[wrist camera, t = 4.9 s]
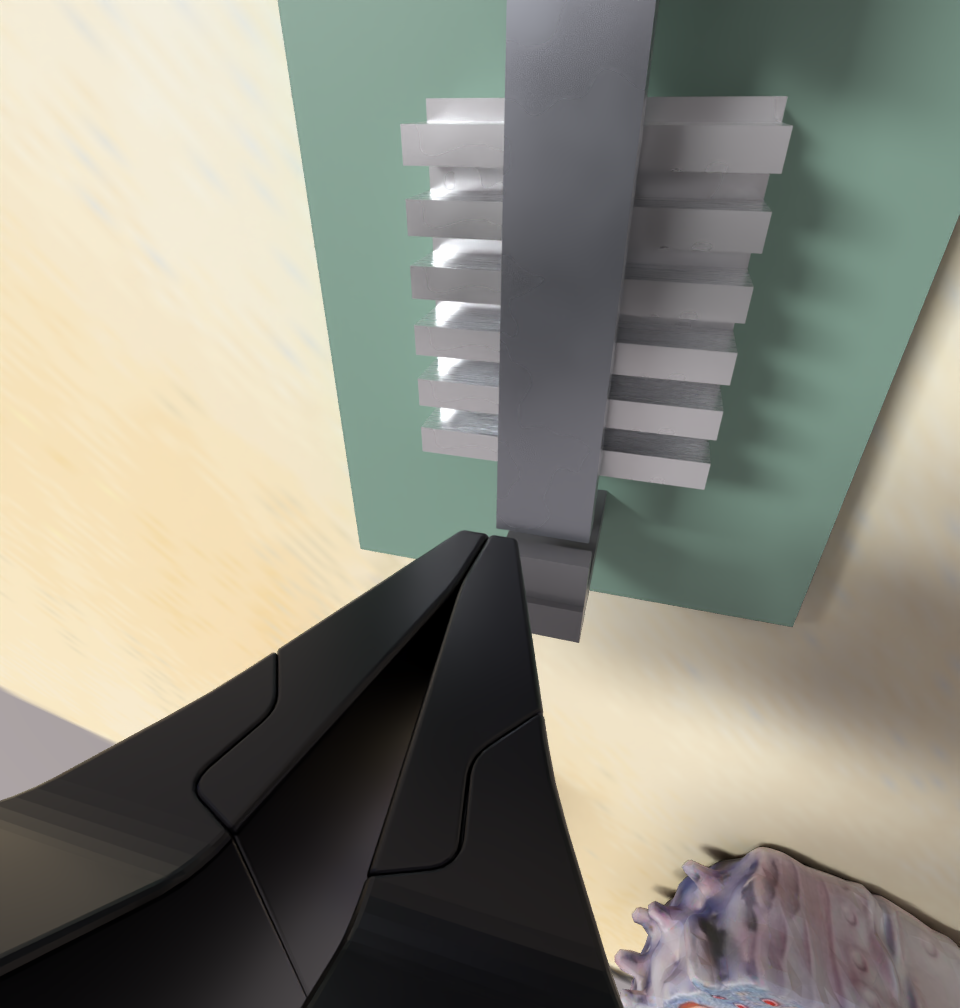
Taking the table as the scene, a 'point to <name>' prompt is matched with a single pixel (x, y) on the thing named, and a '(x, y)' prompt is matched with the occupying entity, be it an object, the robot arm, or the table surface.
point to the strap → (565, 247)
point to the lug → (559, 578)
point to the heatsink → (647, 282)
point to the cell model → (785, 943)
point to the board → (774, 274)
